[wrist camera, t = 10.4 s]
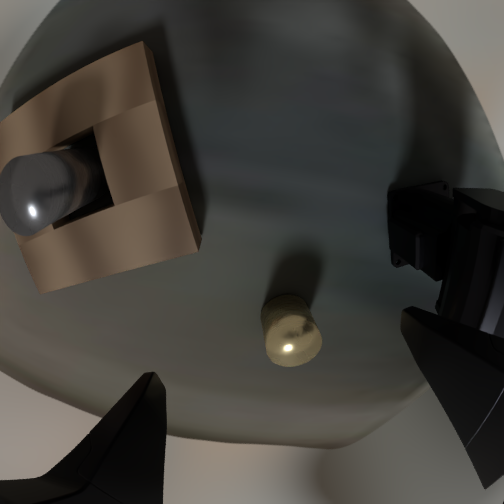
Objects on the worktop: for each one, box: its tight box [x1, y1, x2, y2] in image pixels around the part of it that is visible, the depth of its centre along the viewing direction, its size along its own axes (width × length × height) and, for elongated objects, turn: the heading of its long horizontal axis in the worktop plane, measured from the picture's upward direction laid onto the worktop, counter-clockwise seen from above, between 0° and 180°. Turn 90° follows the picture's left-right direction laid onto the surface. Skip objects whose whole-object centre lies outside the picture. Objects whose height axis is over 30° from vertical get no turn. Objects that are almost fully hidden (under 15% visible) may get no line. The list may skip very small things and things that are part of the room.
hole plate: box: [0, 41, 202, 294], centre depth 16 cm, size 14×14×2 cm
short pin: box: [261, 294, 322, 367], centre depth 21 cm, size 4×4×4 cm
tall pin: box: [0, 147, 109, 236], centre depth 14 cm, size 4×4×8 cm
